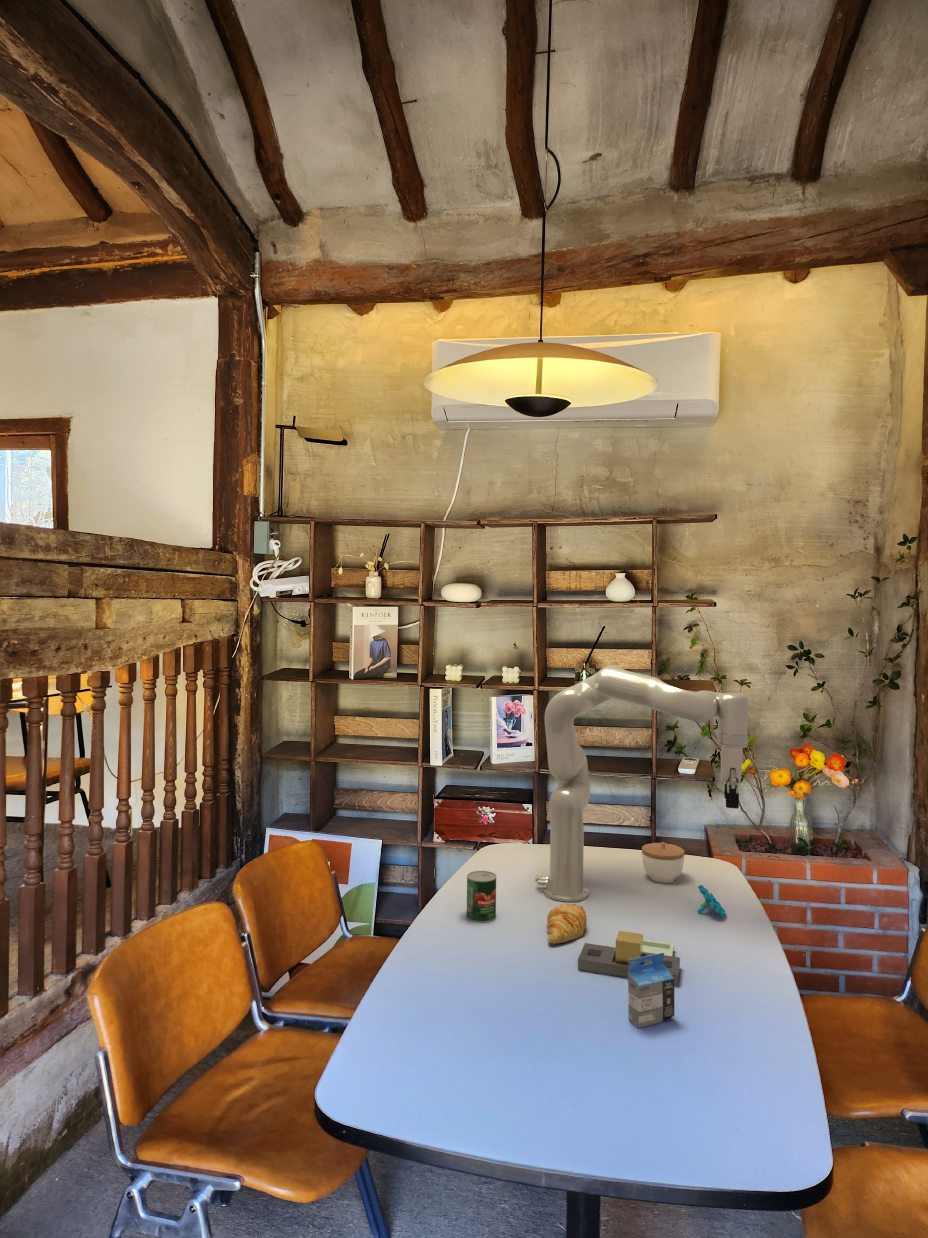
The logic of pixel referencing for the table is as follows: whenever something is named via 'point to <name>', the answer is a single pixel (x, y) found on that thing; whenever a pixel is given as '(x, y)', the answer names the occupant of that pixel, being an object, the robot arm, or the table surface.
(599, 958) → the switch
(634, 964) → the label tape box
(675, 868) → the lidded bowl
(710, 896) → the gear
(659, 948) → the tray
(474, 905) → the canned tomato
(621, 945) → the wooden block
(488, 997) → the table surface
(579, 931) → the croissant
